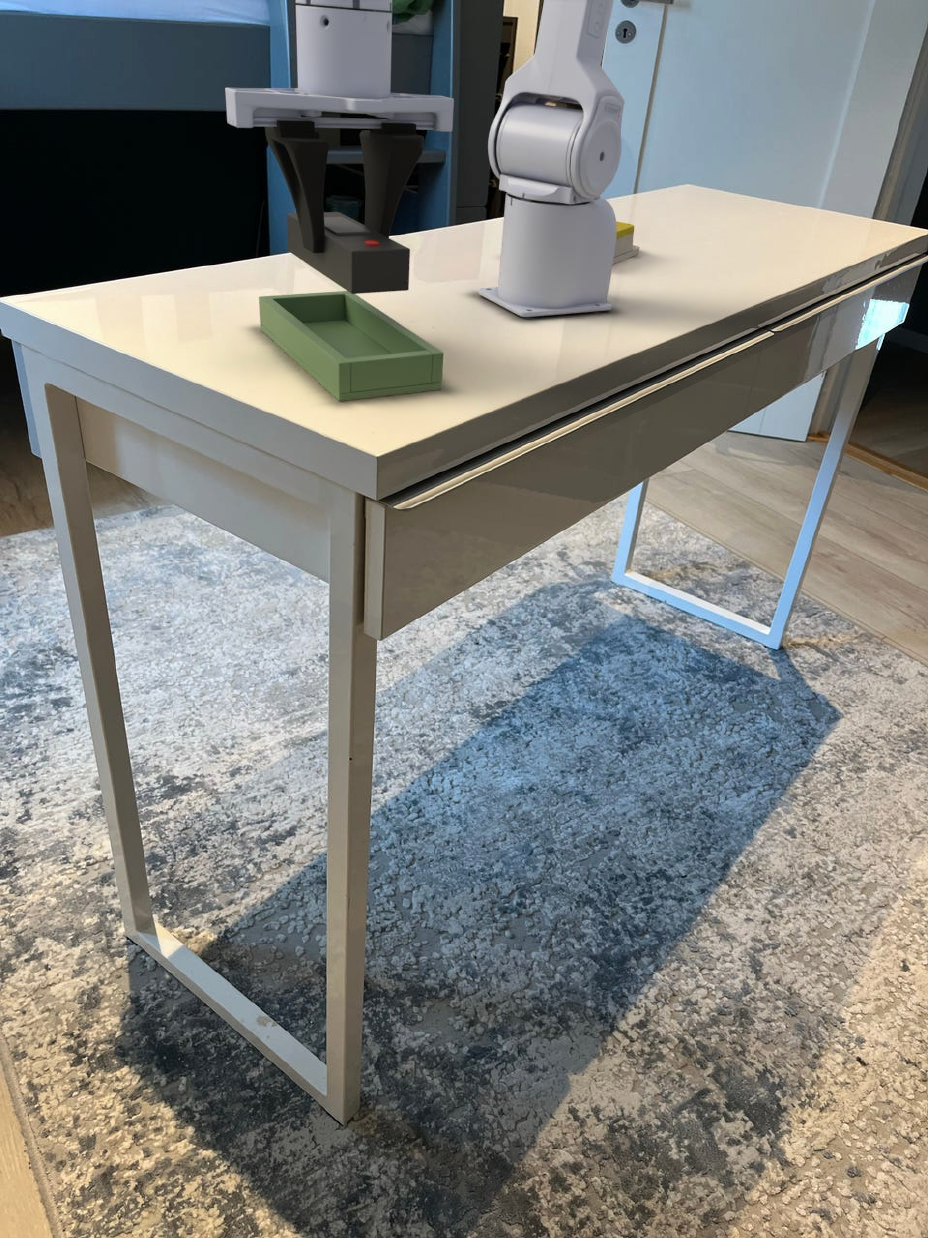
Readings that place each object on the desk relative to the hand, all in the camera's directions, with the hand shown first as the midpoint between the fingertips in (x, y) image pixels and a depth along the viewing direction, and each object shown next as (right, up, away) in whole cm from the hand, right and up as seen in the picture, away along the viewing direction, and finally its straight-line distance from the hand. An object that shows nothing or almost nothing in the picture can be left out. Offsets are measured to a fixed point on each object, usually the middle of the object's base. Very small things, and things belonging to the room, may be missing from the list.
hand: (344, 248), depth 63 cm
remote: (0, -1, +1) cm, 1 cm away
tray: (0, -6, +4) cm, 7 cm away
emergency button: (+20, +14, +38) cm, 45 cm away
